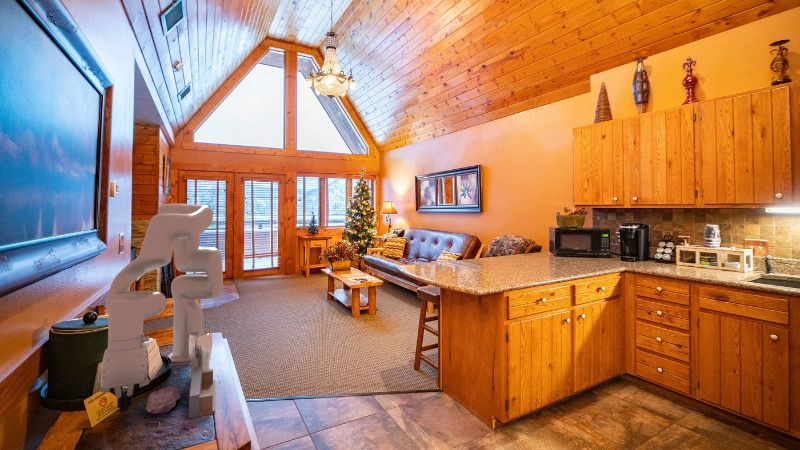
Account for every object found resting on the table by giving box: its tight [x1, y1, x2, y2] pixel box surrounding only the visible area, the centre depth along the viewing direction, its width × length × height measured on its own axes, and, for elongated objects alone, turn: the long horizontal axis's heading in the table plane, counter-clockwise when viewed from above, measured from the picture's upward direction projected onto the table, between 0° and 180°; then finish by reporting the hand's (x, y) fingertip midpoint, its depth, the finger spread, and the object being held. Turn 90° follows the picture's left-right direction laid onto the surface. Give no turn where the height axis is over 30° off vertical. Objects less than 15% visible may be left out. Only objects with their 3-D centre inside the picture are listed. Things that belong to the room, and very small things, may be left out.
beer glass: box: [189, 329, 213, 381], centre depth 119 cm, size 7×7×15 cm
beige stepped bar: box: [188, 366, 216, 419], centre depth 105 cm, size 20×6×6 cm, turn 28°
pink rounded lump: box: [145, 386, 182, 414], centre depth 100 cm, size 8×14×5 cm, turn 27°
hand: (124, 409), depth 96 cm, fingers closed
